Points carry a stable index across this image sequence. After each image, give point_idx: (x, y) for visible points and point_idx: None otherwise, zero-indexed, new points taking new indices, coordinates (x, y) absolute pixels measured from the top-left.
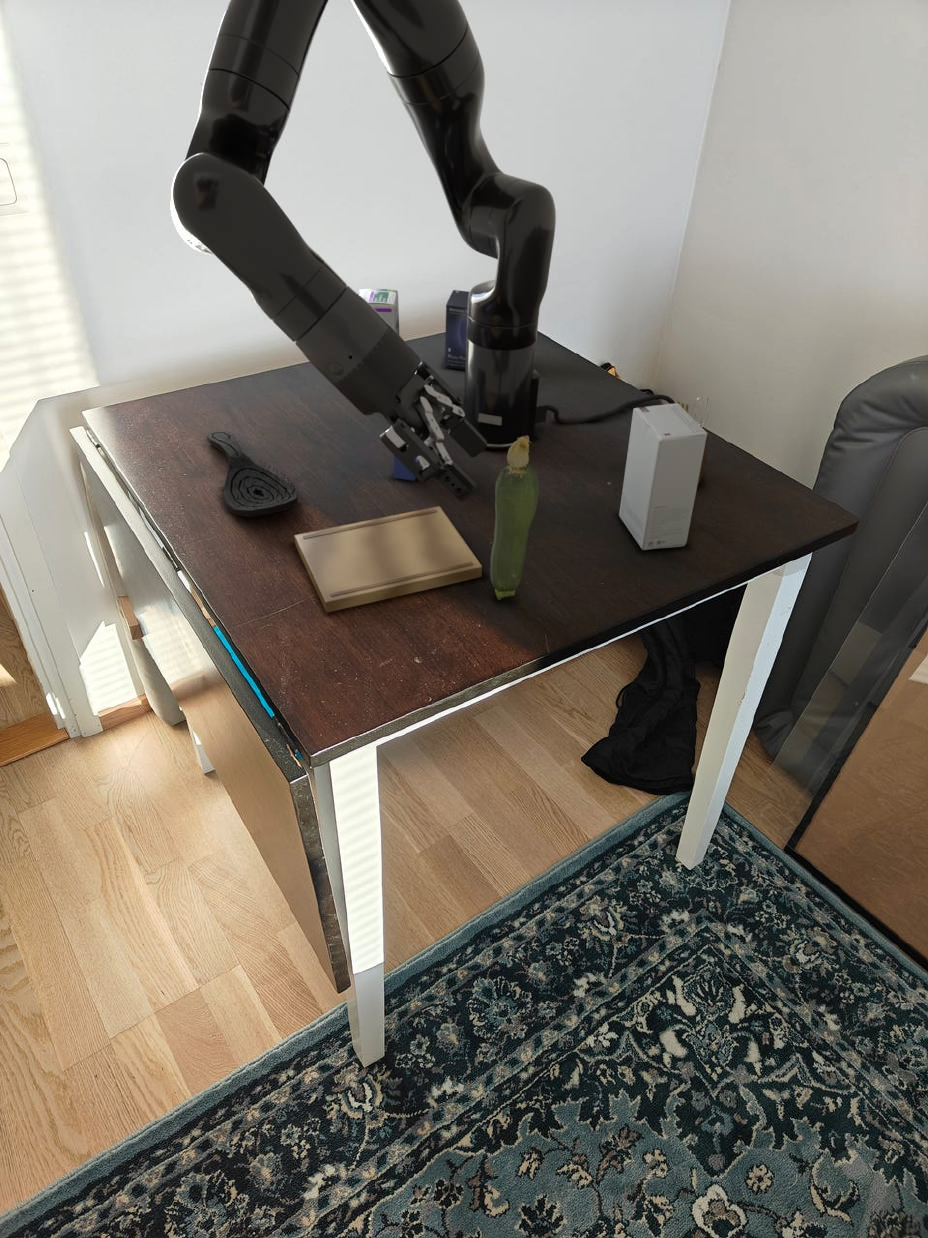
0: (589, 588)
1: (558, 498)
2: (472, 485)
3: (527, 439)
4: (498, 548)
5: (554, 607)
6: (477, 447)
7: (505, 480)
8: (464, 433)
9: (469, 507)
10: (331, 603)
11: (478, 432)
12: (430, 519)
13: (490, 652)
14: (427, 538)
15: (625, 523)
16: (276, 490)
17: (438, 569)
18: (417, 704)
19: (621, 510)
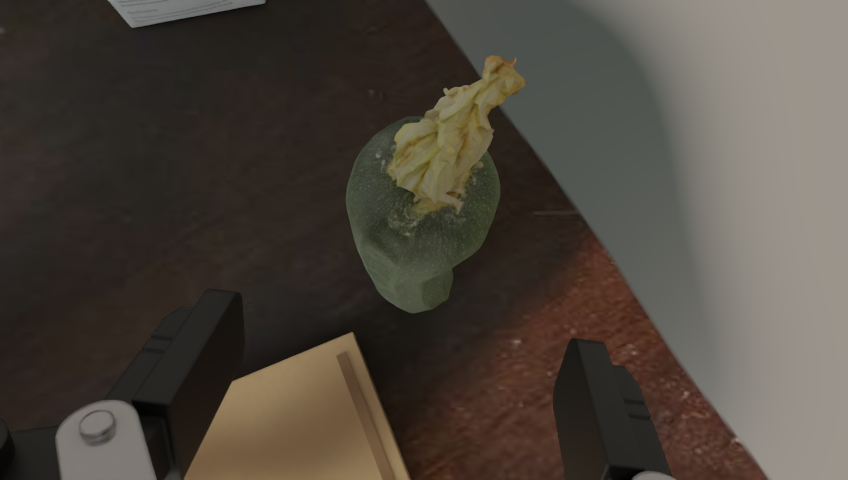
0: (387, 118)
1: (48, 145)
2: (609, 358)
3: (503, 68)
4: (437, 286)
5: None
6: (233, 332)
7: (470, 227)
8: (196, 396)
9: (66, 359)
10: None
11: (183, 325)
12: None
13: (594, 320)
14: (235, 471)
15: (173, 18)
16: None
17: (367, 438)
18: (754, 465)
19: (136, 14)
